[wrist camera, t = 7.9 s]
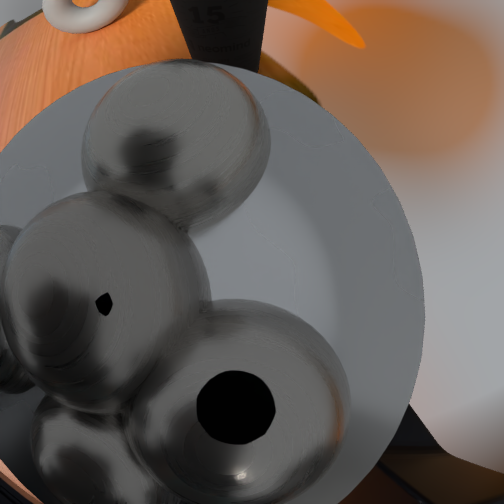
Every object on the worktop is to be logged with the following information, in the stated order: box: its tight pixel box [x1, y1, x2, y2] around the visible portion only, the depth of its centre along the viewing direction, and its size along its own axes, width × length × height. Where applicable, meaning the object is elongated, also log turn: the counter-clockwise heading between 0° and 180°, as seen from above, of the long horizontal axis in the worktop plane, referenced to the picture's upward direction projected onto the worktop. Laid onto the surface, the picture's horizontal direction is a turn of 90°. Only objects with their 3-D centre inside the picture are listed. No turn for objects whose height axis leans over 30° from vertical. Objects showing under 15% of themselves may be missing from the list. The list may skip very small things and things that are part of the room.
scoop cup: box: [0, 59, 425, 504], centre depth 8 cm, size 6×6×13 cm
